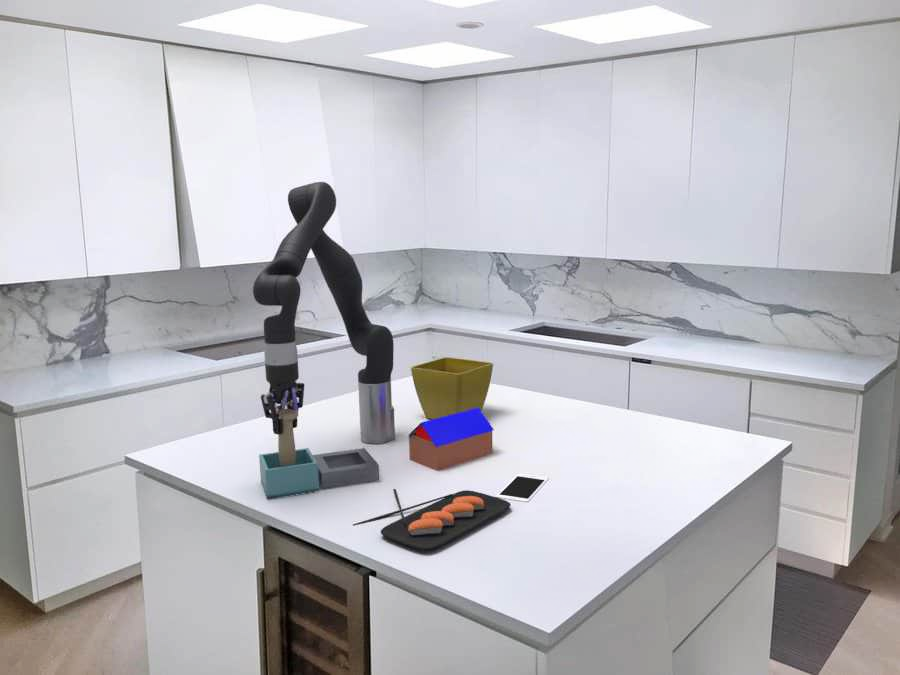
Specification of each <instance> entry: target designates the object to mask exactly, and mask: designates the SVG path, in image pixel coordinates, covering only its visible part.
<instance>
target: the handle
mask: <svg viewBox="0 0 900 675" xmlns="http://www.w3.org/2000/svg"><path fill="white" fill-rule="evenodd" d="M276 413H277V414H278V409H276ZM298 417H299V410H294V409H287V408H285V409H284V410H283V414H282V422H283V434H281V435H278V434H277V435H278V437H277V438H278V441H277V442H278V449H277V450H278V451H277V452H279V460H280V465H281V467H285V466H293V465H295V461H296V451H295V450H296V442H295V434H294V433H295V432H294V428H293V420H294V419H296V418H297V419H298Z"/></svg>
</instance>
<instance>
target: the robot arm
mask: <svg viewBox="0 0 900 675" xmlns="http://www.w3.org/2000/svg"><path fill="white" fill-rule="evenodd" d="M287 203H288V207H289V211H290V213H291V215H292V217H293V219H294V221H295V223H296V225H295V226H294V227H293V228H292V229H291V230H290V231H289V232H288V233H287V234H286V235H285V236H284V238H283V239H282V240H281V242H280V244H279V246H278V248H277V250H276V252H275V255H274V257H273V259H272V260H271V261H270V262H269V263H268V264H267V265H266V266H265V267H264V269H263V270H262V271H261V272H260V273H259V275H257V277H256V278H255V280H254V283H253V288H252V293H253V294H252V296H253V298H254V300H255V301H256V303H258V304H259V305H260V306H269V307H270V306H275V307H276V306H277V307H281V310H280V313H279V314H276V315H271V316H268V317H266V318H265V319H264V320H263V337H264V351H263V354H264V366H265V368H264V369H265V370H264V371H265V380H266V381H267V383H268V384H269V390H268V392H267V393H266V394H261V396H260V399H261V405H262V408H263V413H264V415H265V416H264V417H265V418H267V419H271V421H272V431H273V434H275V435H281V434H283V422H282V414H283V410H284V409H294V410H298V411H299V409H302V408H303V407H304V406H303V405H304V394H305V383H304V382H297V381H298V380H299V378H300V374H299V358H298V348H297V341H296V327H295V325H296V316H297V311H298V306H299V302H300V298H301V284H300V281H299V280H298V279H297V277H299V276H300V274H301V273H302V271H303V268H304V265H305V264H306V262H307V258H308V255H309V254H310V251H311V252H312V254H313V255H314V258H315V260H316V263H317V265H318V266H319V269H320V272H321V274H322V276H323V279H324V281H325V283H326V286H327V288H328V289H329V292H330V293H331V296H332V297H333V301H334V302H335V304H336V307H337V309H338V311H339V313H340V316H341V319H342V321H343V323H344V327H345V330H346V333H347V337H348V339H349V342H350V345H351V347H352V349H353V350H354V351H355V353H357V354H359V355H361V356H364V357H366V359H365V361H366V362H365V363H366V365H365V367H364V368H362V369H360V370H359V371H358V373H357V382H358V386H357V388H358V404H359V405H358V406H359V428H360V431H359V432H360V441H361V442H363V443H365V444H384V443H387V442H390V441H394V440H396V429H395V428H396V426H395V407H394V406H393V404H392V403H393V402H392V401H393V400H392V379H391V378H392V372H393V369H394V348H395V347H394V346H395V345H394V337H393V334H392V332H391V330H390V328H388V327H387V326H384V325H380V324H373V323H372V322H371V320H370V319H369V317H368V315H367V312H366V310H365V308H364V304H363V279H362V276H361V274H360V273H361V272H360V271H359V268H358V267H357V264H356V262H355V260H354V257H353V256H352V255H351V254H350V253H349V252H348V251H347V250H346V249H345V248H344V247H342V246H341V245H340V244H339V243H337V242H336V241H334V240H333V239H332V238H331V237H330V236H329V235H328V234H327V233H326V232H325V230H324V229H325V227H326V225H327V224H328V222H329V221H330V220H331V217H332V216H333V215H334V214H335V211H336V207H337V197H336V193H335V191H334V188H332V186H331V185H330V184H329V183H327V182H325V181H316V182H312V183H308V184H304V185H301V186H297V187H294V188H291V189H290V190H289V192H288V195H287ZM276 409H278V414H277V413H276ZM297 427H298V417H297V418H296V419H294V420H293V429H295V428H296V429H297Z"/></svg>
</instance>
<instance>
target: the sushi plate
mask: <svg viewBox="0 0 900 675" xmlns="http://www.w3.org/2000/svg"><path fill="white" fill-rule="evenodd" d="M392 490H393V493H394V497H395V501H396V503H397V506H398V508H399V509H398V510H396V511H392V512H388V513H386V514H382V515H378V516H376V517H371V518H369V519H366V520H363V521H359V522H356V523H354V524H352V526H357V525H362V524H366V523H370V522H375V521H379V520H382V519H385V518H388V517H392V516H394V515H398V514H400V515H401V518H399V519H397V520H395V521H394V522H391V523H389V524H387V525H386V526H384V527H382V528H381V529H380V534H381V535H382V536H383V537H385V538H387V539H388V540H389V539H390V540H391V541H393V542H397V543H399V544H402V545H405V546H408V547H411V548H413V549H416V550H421V551H431V550H434V549H436V548H439V547H441V546H443V545H445V544H447V543H449V542H451V541H452V540H455V539H456V538H458V537H460V536H462V535H463V534H466V533H468V532H469V531H471V530H473V529H475V528H476V527H478V526H481V525H483V524H484V523H487V521H489V520H491V519H494V517H497V516H499V515H500V514H503V513H504V512H505V511H507V510H509V509H510V507H511V503H510V502H509V500H506V499H501V498H496V496H493V495H489V494H486V493H482V492H478V491H475V490H468V489H467V490H466V489H465V490H461V491H457V492H454V493H450V494H447V495H444V496H443V495H442V496H441V497H438V498H434V499H432V500H427V501H425V502H422V503H418V504H415V505H412V506H409V507H405V508H402V505H401V502H400V499H399V496H398V493H397V489H396V488H393V489H392ZM432 502H433V503H432ZM430 503H431V504H430ZM426 504H429V505H427V506H424V507H423V508H421V509H418V510H417V511H414V512H412V513H410V514H407V515H406V516H405V515H404V513H403V512H406V511H409V510H412V509H414V508H418V507H421V506H423V505H426Z"/></svg>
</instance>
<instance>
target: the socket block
mask: <svg viewBox="0 0 900 675" xmlns="http://www.w3.org/2000/svg"><path fill="white" fill-rule="evenodd" d="M312 455H313V457H314V458H315V460H316V462H317V463H318V481H319V487H322V488H321V490H326V489H325V488H328V489H334V487H335V488H341V487H346V486H353V485H359V484H366V483H372V482H373V483H374V482H379V481H380V464H379V463H378V462H377V461H376V459H374V457H373V456H372V455H371V454H370V453H369V451H368V450H367V449H366V447H362V448H355V449H348V450H340V451H334V452H326V453H319V454H318V453H317V454H312Z"/></svg>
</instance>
